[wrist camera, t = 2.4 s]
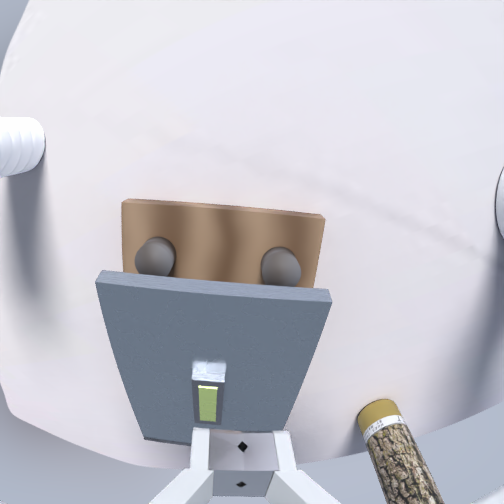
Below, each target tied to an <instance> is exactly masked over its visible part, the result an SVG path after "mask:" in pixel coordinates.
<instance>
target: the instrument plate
mask: <svg viewBox="0 0 504 504" xmlns="http://www.w3.org/2000/svg"><path fill="white" fill-rule="evenodd" d="M95 284H96V288H97V293H98V297H99V302H100V306H101V310H102V314H103V318H104V321H105V325H106V329H107V333H108V336H109V340H110V343H111V347H112V350H113V353H114V356H115V360H116V363H117V366H118V369H119V372H120V375H121V378H122V381H123V384H124V387H125V390H126V392H127V395H128V398H129V401H130V403H131V406H132V409H133V411H134V414H135V416H136V419H137V421H138V424H139V426H140V429H141V431H142V434H143V436H144V439H145V440H150V441H156V442H163V443H170V444H178V445H186V446H191V444H192V433H193V428H194V427H196V428H208V429H219V430H232V431H241V430H243V431H270V430H271V431H282V430H283V428H284V426H285V424H286V421H287V419H288V417H289V414H290V412H291V410H292V407H293V405H294V403H295V400H296V398H297V395H298V393H299V391H300V388H301V386H302V383H303V381H304V378H305V376H306V373H307V371H308V368H309V365H310V363H311V360H312V358H313V355H314V352H315V350H316V347H317V344H318V341H319V339H320V336H321V333H322V330H323V328H324V325H325V322H326V319H327V316H328V313H329V310H330V307H331V304H332V300H331V297H330V294H329V291H328V289H318V288H302V287H286V286H272V285H258V284H245V283H232V282H220V281H208V280H196V279H185V278H174V277H164V276H154V275H144V274H134V273H125V272H115V271H106V270H102V271H101V273H100V274H99V276H98V278H97V279H96V281H95ZM209 438H210V435H209Z"/></svg>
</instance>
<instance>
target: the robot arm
mask: <svg viewBox="0 0 504 504" xmlns="http://www.w3.org/2000/svg"><path fill="white" fill-rule="evenodd" d="M496 214H497V222H498V226H499V230H500V232H501V235H502V237H503V238H504V169H503V171H502V174H501V177H500V180H499V185H498V190H497V198H496ZM209 435H210V438H209ZM212 496H248V497H265V498H266V500H267V501H268V502H269V503H270V504H341V503H340V502H339V501H337V500H336V499H335V498H334V497H332V496H331V495H330V494H329V493H328V492H326V491H325V490H324V489H323V488H322V487H321V486H319V485H318V484H317V483H316V482H315V481H314V480H312V479H311V478H310V477H309V476H308V475H307V474H306V473H305V472H304V471H303V470H297V466H296V461H295V457H294V452H293V447H292V442H291V438H290V433H289V432H288V431H271V430H270V431H243V430H241V431H232V430H219V429H208V428H196V427H194V428H193V433H192V444H191V456H190V468H184V469H183V470H182V471H181V472H180V473H179V474H178V475H177V477H175V478H174V479H173V480H172V481H171V482H170V484H168V485H167V486H166V487H165V488H164V489H163V490H162V491H161V492H160V493H159V494H158V495H157V496H156V497H155V498H154V499H153V500H152V501H151V502H150V503H148V504H207V503H208V502H209V501H210V499H211V498H212ZM0 504H6V503H4V502H2V501H1V500H0ZM470 504H504V485H502V486H501V487H499V488H498V489H496V490H494V491H492V492H491V493H489V494H487V495H485V496H483V497H482V498H480V499H478V500H476V501H474V502H472V503H470Z"/></svg>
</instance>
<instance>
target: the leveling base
mask: <svg viewBox="0 0 504 504" xmlns="http://www.w3.org/2000/svg"><path fill="white" fill-rule="evenodd" d="M324 225H325V218H324V217H323V216H321V215H320V214H311V213H302V212H293V211H283V210H273V209H263V208H252V207H241V206H230V205H217V204H205V203H191V202H176V201H161V200H143V199H127V200H125V201H123V202H122V257H123V272H125V273H134V274H144V275H154V276H164V277H174V278H185V279H196V280H208V281H220V282H232V283H245V284H258V285H272V286H286V287H302V288H313V286H314V281H315V276H316V270H317V265H318V259H319V254H320V248H321V242H322V237H323V231H324Z"/></svg>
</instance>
